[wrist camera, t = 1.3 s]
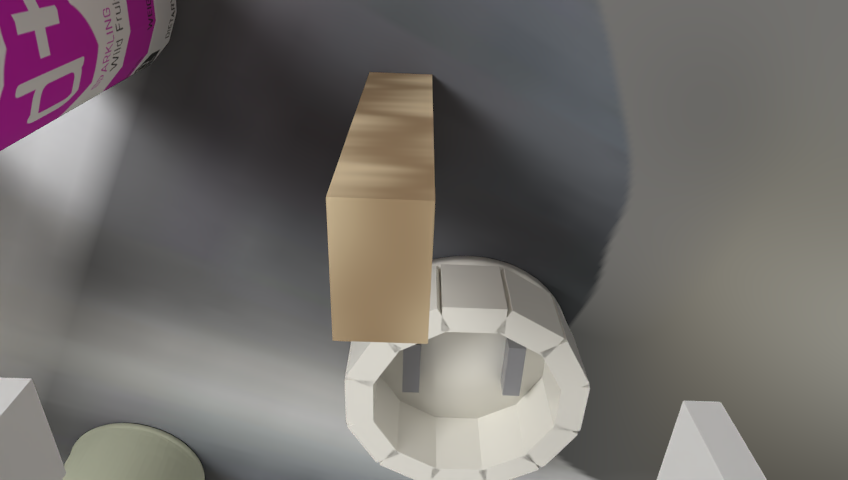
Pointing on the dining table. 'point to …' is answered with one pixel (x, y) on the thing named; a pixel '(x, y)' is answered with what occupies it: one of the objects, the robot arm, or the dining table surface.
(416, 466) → the white thick ring
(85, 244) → the dining table surface
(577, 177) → the dining table surface
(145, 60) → the supplement can
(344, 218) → the wooden block
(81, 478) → the can
